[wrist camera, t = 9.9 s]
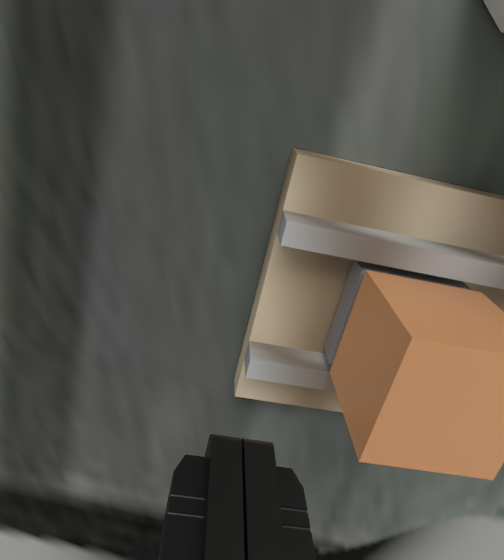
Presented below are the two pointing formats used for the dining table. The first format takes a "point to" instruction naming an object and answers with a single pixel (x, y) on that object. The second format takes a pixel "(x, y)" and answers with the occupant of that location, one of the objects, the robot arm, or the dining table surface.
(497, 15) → the white cup
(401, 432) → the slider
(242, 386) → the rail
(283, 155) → the dining table surface
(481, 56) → the dining table surface
